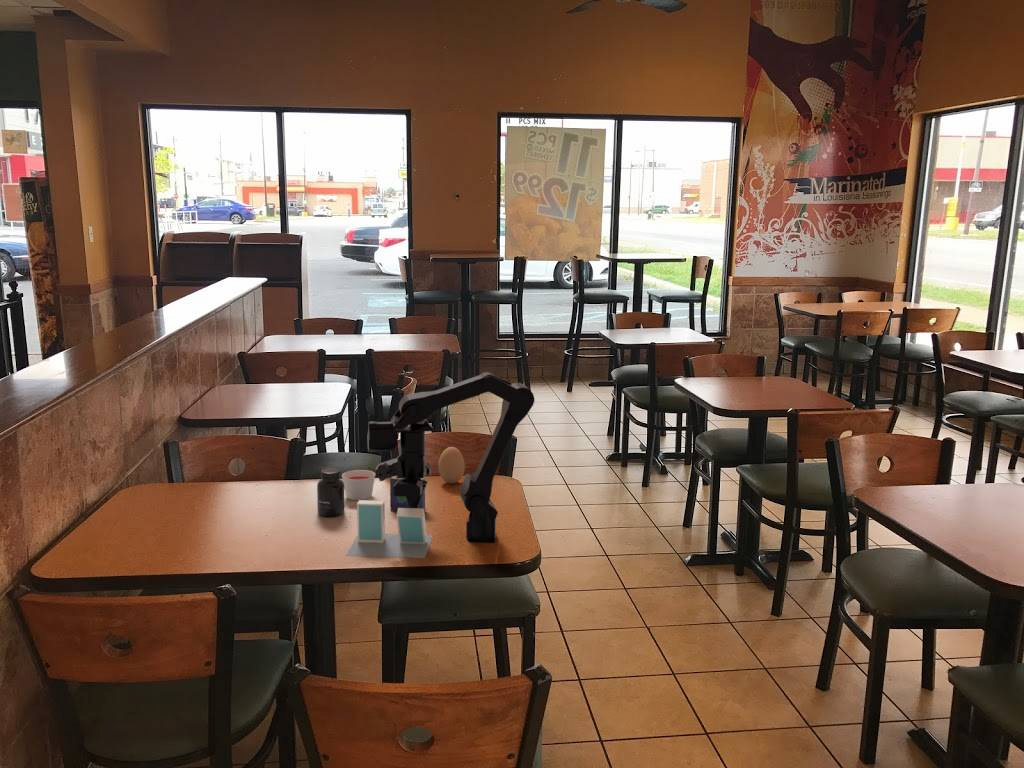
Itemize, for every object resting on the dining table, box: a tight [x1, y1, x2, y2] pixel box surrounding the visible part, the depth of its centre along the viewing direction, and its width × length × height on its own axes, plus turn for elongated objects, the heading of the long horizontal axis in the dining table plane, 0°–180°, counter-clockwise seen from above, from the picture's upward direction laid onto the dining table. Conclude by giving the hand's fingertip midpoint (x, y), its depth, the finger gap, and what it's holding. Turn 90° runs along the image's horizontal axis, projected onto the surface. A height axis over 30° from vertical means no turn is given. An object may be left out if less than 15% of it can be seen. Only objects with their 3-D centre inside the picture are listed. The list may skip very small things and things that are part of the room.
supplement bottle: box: [316, 467, 345, 519], centre depth 222 cm, size 7×7×12 cm
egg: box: [437, 446, 466, 485], centre depth 250 cm, size 8×8×11 cm
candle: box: [341, 469, 376, 501], centre depth 237 cm, size 9×9×6 cm
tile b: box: [356, 499, 386, 543], centre depth 204 cm, size 6×2×10 cm, turn 88°
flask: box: [389, 475, 426, 513], centre depth 226 cm, size 9×3×11 cm, turn 88°
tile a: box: [396, 508, 428, 544], centre depth 201 cm, size 6×2×10 cm, turn 88°
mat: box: [345, 533, 434, 559], centre depth 202 cm, size 18×14×1 cm
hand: (413, 513), depth 203 cm, fingers closed
